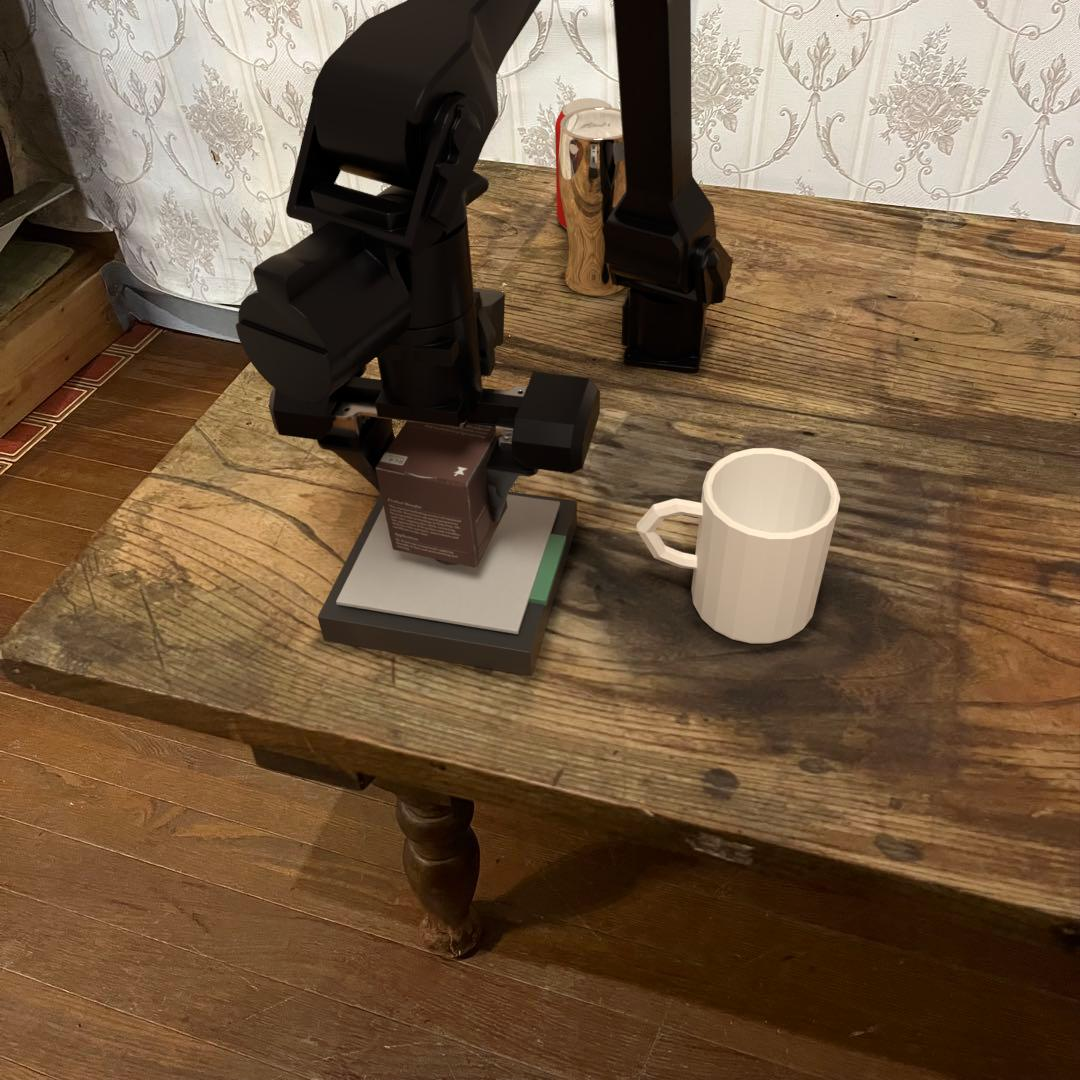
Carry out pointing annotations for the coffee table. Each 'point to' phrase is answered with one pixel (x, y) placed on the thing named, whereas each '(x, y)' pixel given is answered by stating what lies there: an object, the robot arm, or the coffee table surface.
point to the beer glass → (590, 192)
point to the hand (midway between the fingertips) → (448, 509)
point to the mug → (754, 542)
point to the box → (439, 491)
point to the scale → (456, 591)
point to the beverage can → (565, 110)
